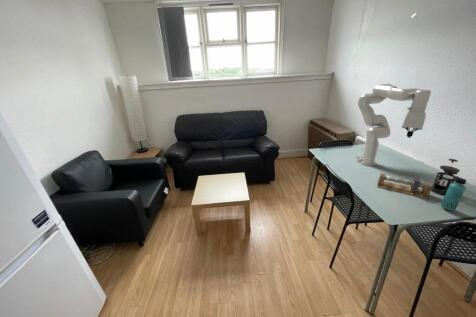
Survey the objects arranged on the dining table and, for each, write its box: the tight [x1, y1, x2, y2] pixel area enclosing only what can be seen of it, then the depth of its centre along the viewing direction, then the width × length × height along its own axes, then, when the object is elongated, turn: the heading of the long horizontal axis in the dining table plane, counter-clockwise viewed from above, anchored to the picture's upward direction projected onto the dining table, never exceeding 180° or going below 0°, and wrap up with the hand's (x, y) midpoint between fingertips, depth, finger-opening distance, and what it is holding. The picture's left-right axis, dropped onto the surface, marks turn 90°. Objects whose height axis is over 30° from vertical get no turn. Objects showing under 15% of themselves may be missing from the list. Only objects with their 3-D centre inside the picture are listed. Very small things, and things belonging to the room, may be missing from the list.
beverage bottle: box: [440, 177, 467, 211], centre depth 114 cm, size 6×7×20 cm
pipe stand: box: [376, 172, 433, 200], centre depth 136 cm, size 27×10×8 cm, turn 55°
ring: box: [410, 175, 421, 193], centre depth 132 cm, size 2×8×8 cm, turn 145°
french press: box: [430, 158, 461, 196], centre depth 129 cm, size 12×9×23 cm
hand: (408, 137), depth 138 cm, fingers closed
